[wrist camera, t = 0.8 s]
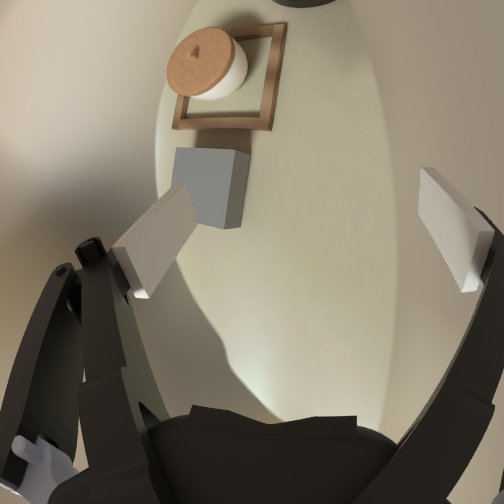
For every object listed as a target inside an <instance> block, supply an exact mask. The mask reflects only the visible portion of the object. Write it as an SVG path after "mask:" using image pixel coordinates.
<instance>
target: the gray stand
mask: <svg viewBox="0 0 504 504" xmlns="http://www.w3.org/2000/svg"><path fill="white" fill-rule="evenodd" d="M250 158H251V155H250V154H247V153H244V152H241V151H238V150H231V149H212V148H181V147H176V153H175V160H174V167H173V174H172V182H171V188H172V187H173V186H174V185H176V184H183V183H186V185H187V189H188V192H189V196H190V199H191V203H192V206H193V210H194V213H195V217H196V220H197V223H200V224H204V225H208V226H212V227H216V228H220V229H230V228H238V227H240V225H241V219H242V212H243V205H244V198H245V191H246V184H247V178H248V171H249V164H250Z"/></svg>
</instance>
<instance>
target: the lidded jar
mask: <svg viewBox="0 0 504 504" xmlns="http://www.w3.org/2000/svg"><path fill="white" fill-rule="evenodd" d="M247 69H248V63H247V58H246V55H245V53H244V51H243V49H242V48H241V46H240V45H239V44H238V43H237V42H236V41H235V40H234V39H233V38H232V37H231V36H230V35H229V34H228V33H227V32H226V31H224V30H223V29H220V28H217V27H207V28H203V29H200V30H197V31H195V32H193V33H192V34H190V35H189V36H187V37H186V38H185V39H184V40H183V41H182V42H181V43H180V44H179V45H178V46H177V47H176V49H175V50H174V52H173V54H172V55H171V58H170V60H169V63H168V67H167V80H168V84H169V86H170V88H171V89H172V90H173V91H174V92H176V93H178V94H181V95H183V96H188V97H190V98H193V99H198V100H203V101H214V100H219V99H223V98H225V97H227V96H229V95H231V94H232V93H234V92H235V91H236V90H237V89H239V88H240V86H241V85H242V84H243V82H244V79H245V77H246V74H247Z"/></svg>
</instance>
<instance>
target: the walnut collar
mask: <svg viewBox="0 0 504 504" xmlns="http://www.w3.org/2000/svg"><path fill="white" fill-rule="evenodd" d="M227 33H228V34H229V35H230V36H231V37H232V38H233V39H234V40H235V41H237V40H244V39H252V38H260V37H270V36H272V41H271V47H270V53H269V59H268V65H267V71H266V77H265V83H264V89H263V95H262V102H261V108H260V114H259V118H254V117H222V118H194V119H185V117H186V112H187V106H188V101H189V97H188V96H183V95H181V94H178V97H177V102H176V107H175V113H174V118H173V124H172V129H175V130H189V129H239V130H264V131H272V125H273V118H274V112H275V105H276V99H277V92H278V85H279V79H280V72H281V66H282V59H283V52H284V46H285V39H286V33H287V27H286V26H285V24H275V25H266V26H258V27H251V28H244V29H238V30H232V31H227Z"/></svg>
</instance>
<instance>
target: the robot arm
mask: <svg viewBox="0 0 504 504" xmlns="http://www.w3.org/2000/svg"><path fill="white" fill-rule="evenodd" d="M273 1H274V2H276V3H278V4H280V5H283V6H288V7H295V8H307V7H315V6H320V5H324V4H327V3H330V2H333V1H335V0H273ZM418 215H419V216H420V218H421V220H422V221H423V222H424V224H425V226H426V227H427V229H428V231H429V232H430V234H431V236H432V238H433V239H434V241H435V243H436V244H437V246H438V248H439V250H440V252H441V253H442V255H443V257H444V259H445V260H446V263H447V264H448V266H449V268H450V270H451V272H452V274H453V276H454V278H455V280H456V282H457V284H458V286H459V288H460V290H461V292H470V291H476V290H477V287H478V284H479V281H480V279H481V280H482V282H483V284H484V288H483V290H482V293H481V295H480V298H479V300H478V303H477V305H476V309H475V311H474V314H473V316H472V319H471V321H470V323H469V326H468V328H467V330H466V332H465V334H464V337H463V339H462V341H461V343H460V345H459V347H458V349H457V351H456V353H455V355H454V357H453V359H452V361H451V363H450V365H449V367H448V368H447V370H446V372H445V374H444V375H443V377H442V379H441V381H440V383H439V384H438V386H437V387H436V389H435V391H434V392H433V394H432V396H431V397H430V399H429V400H428V402H427V404H426V405H425V407H424V408H423V410H422V411H421V413H420V414H419V416H418V417H417V418H416V420H415V421H414V423H413V424H412V425H411V427H410V428H409V429H408V431H407V432H406V433H405V434H404V436H403V437H402V438H401V440H400V441H399V442H398V443H397V444H396V443H394V442H393V441H392V440H390V439H389V438H388V437H386V436H384V435H383V434H381V433H379V432H377V431H374V430H372V429H369V428H365V427H361V426H357V416H327V417H317V416H315V417H310V418H305V419H300V420H295V421H289V422H283V423H278V424H265V423H262V422H259V421H256V420H253V419H250V418H248V417H245V416H242V415H240V414H237V413H234V412H231V411H229V410H221V409H215V408H208V407H202V406H197V405H192V408H191V411H190V414H189V415H182V416H177V417H174V418H171V417H170V416H169V414H168V412H167V410H166V408H165V405H164V403H163V400H162V397H161V395H160V392H159V390H158V387H157V384H156V382H155V379H154V376H153V373H152V370H151V368H150V365H149V362H148V359H147V356H146V353H145V349H144V346H143V343H142V340H141V337H140V333H139V330H138V327H137V323H136V320H135V316H134V312H133V308H132V305H131V301H130V299H129V296H128V295H127V292H128V291H129V289H130V288H131V289H132V291H133V293H134V295H135V297H136V298H150V296H151V295H152V293H153V291H154V290H155V288H156V287H157V285H158V284H159V282H160V280H161V279H162V277H163V276H164V274H165V273H166V271H167V270H168V268H169V266H170V265H171V263H172V262H173V260H174V259H175V257H176V256H177V254H178V253H179V251H180V250H181V248H182V247H183V245H184V244H185V242H186V241H187V239H188V238H189V236H190V235H191V233H192V232H193V231H194V229H195V228H196V226H197V225H198V224H197V220H196V217H195V213H194V210H193V206H192V203H191V199H190V196H189V192H188V189H187V185H186V183H183V184H176V185H174V186H173V187H172V188H170V189H169V190H168V191H167V192H166V193H165V194H164V195H163V196H162V197H161V198H160V199H159V200H158V201H157V202H156V203H155V204H154V205H153V206H151V207H150V208H149V209H148V210H147V211H146V212H145V213H144V214H143V215H142V216H141V217H140V218H139V219H138V220H137V221H136V222H135V223H134V224H133V225H132V226H131V227H130V228H129V229H128V231H126V233H124V235H123V236H122V237H121V238H120V239H119V240H118V241H117V242H116V243H115V244H114V245H113V246H112V247H111V249H110V250H109V251H108V252H107V253H106V251H105V249H104V247H103V244H102V242H101V240H100V238H99V237H93V238H90V239H87V240H86V241H84V242H82V243H81V244H80V245H78V247H77V248H76V249H75V253H76V255H77V257H78V259H79V261H80V263H81V265H82V269H79V270H76V271H75V270H74V267H73V266H72V264H71V263H64V264H61V265H59V266H57V267H56V269H55V270H54V271H53V272H52V274H51V275H50V277H49V279H48V281H47V283H46V285H45V287H44V289H43V291H42V293H41V296H40V298H39V300H38V302H37V304H36V307H35V309H34V311H33V313H32V316H31V318H30V321H29V323H28V325H27V328H26V330H25V333H24V336H23V338H22V341H21V344H20V347H19V349H18V352H17V355H16V358H15V361H14V364H13V367H12V370H11V374H10V377H9V380H8V384H7V387H6V391H5V395H4V399H3V403H2V407H1V411H0V486H2V487H4V488H6V489H8V490H10V491H11V492H14V493H16V494H18V495H20V496H22V497H24V498H25V499H26V500H27V501H29V502H30V503H31V504H451V503H450V502H449V501H448V500H447V499H446V498H447V497H448V495H449V494H450V492H451V491H452V489H453V488H454V486H455V485H456V483H457V482H458V480H459V479H460V477H461V475H462V474H463V472H464V471H465V469H466V467H467V466H468V464H469V462H470V460H471V459H472V457H473V455H474V453H475V451H476V450H477V448H478V446H479V444H480V442H481V440H482V438H483V436H484V433H485V432H486V430H487V428H488V425H489V423H490V421H491V418H492V416H493V413H494V410H495V405H493V404H492V399H493V396H494V394H495V391H496V389H497V386H498V384H499V381H500V378H501V375H502V372H503V369H504V235H503V234H502V233H501V232H500V230H499V229H498V228H497V227H496V226H495V225H494V224H493V223H492V221H491V220H490V219H488V217H487V216H486V215H485V214H484V213H483V212H482V211H480V210H479V209H478V208H476V207H473V206H472V205H471V204H470V203H469V202H468V201H467V199H466V198H465V197H464V196H463V195H462V194H460V192H458V191H457V189H456V188H455V187H453V186H452V185H451V184H450V183H449V182H448V181H447V180H446V179H445V178H444V177H443V176H442V175H441V174H440V173H438V172H437V171H436V170H435V169H434V168H426V167H422V168H421V179H420V194H419V205H418ZM68 307H69V308H68ZM69 309H70V310H69ZM84 368H85V377H86V382H84V383H82V382H83V375H84ZM79 418H80V425H81V431H82V436H83V442H84V447H85V452H86V456H87V460H88V465H89V468H87V469H85V470H83V471H82V472H80V473H79V471H78V470H77V469H75V468H73V462H74V458H75V453H76V447H77V436H78V421H79ZM491 504H504V470H503V475H502V480H501V485H500V490H499V494H498V495H497V496H496V497H495V498H494V499H493V501H492V503H491Z"/></svg>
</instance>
